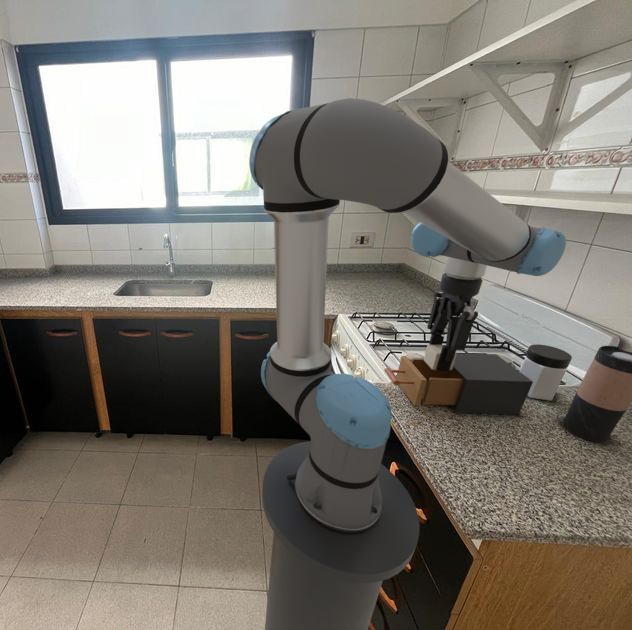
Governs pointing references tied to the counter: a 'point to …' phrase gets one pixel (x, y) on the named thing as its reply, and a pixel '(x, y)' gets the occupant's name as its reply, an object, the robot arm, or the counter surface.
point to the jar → (544, 370)
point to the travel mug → (601, 395)
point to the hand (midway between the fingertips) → (436, 364)
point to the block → (434, 356)
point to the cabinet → (489, 385)
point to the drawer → (426, 382)
